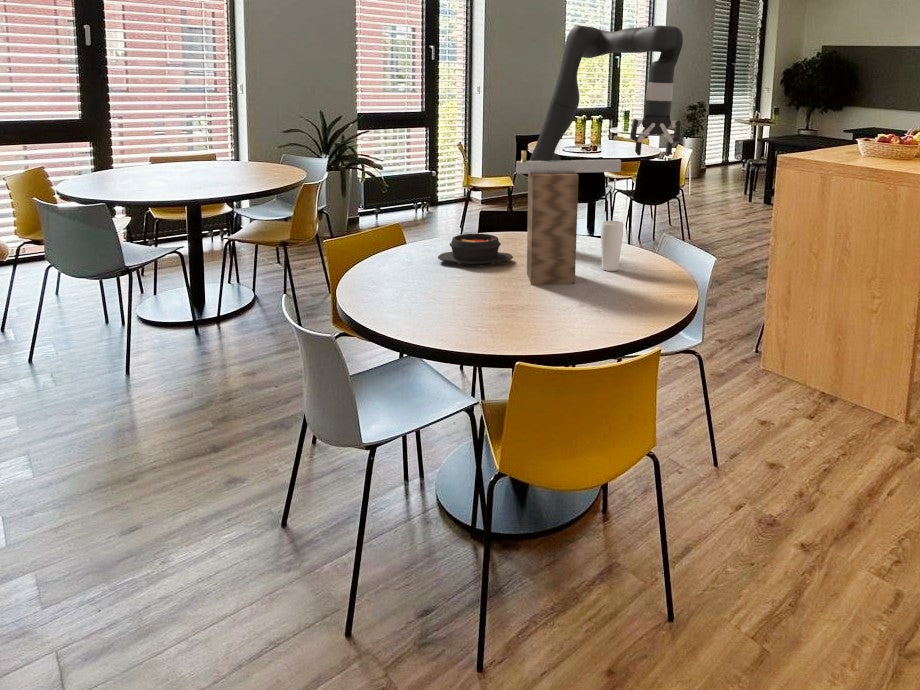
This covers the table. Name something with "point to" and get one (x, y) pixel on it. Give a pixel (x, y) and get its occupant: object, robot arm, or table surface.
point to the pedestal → (552, 228)
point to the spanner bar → (566, 166)
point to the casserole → (475, 250)
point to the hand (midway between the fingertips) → (652, 155)
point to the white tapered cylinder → (611, 244)
